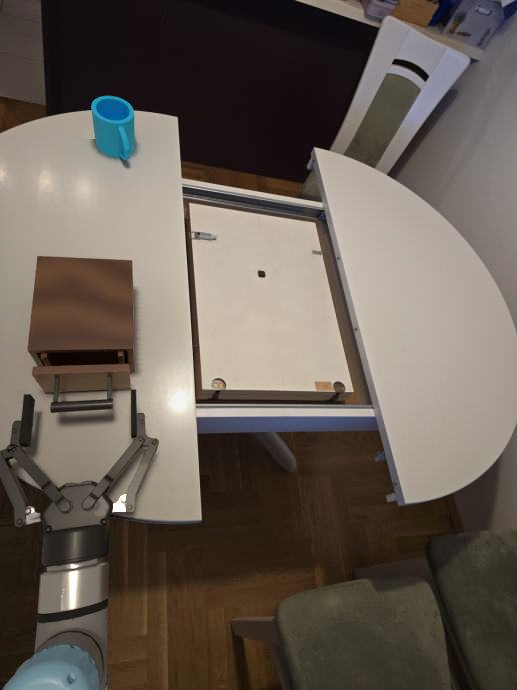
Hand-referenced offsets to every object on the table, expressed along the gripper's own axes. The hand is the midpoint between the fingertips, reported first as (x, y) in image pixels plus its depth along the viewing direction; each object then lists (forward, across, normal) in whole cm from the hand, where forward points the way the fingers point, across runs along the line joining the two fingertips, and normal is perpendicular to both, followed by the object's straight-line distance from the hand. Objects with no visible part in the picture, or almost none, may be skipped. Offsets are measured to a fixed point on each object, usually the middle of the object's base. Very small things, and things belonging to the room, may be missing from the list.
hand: (83, 394), depth 55 cm
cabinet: (+14, 0, -7) cm, 15 cm away
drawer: (+7, 0, -6) cm, 9 cm away
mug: (+58, +4, -7) cm, 58 cm away
